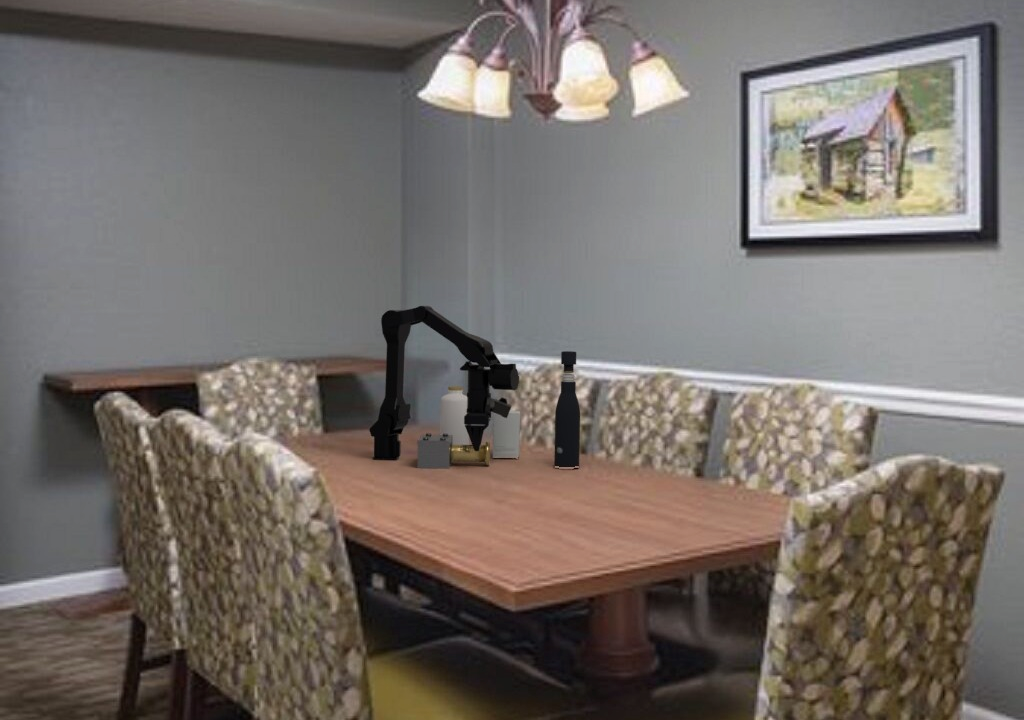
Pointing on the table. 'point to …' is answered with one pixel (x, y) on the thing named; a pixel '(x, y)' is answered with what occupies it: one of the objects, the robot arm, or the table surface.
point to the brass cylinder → (470, 453)
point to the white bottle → (454, 415)
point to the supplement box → (506, 435)
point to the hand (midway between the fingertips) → (477, 448)
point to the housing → (434, 451)
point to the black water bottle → (567, 417)
